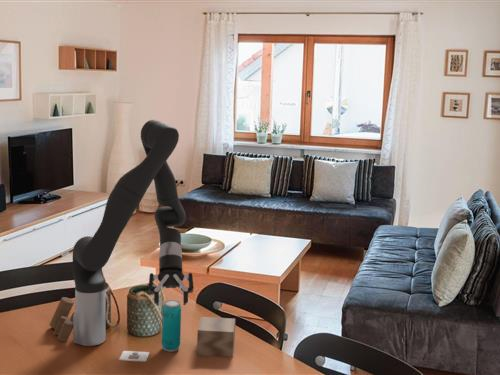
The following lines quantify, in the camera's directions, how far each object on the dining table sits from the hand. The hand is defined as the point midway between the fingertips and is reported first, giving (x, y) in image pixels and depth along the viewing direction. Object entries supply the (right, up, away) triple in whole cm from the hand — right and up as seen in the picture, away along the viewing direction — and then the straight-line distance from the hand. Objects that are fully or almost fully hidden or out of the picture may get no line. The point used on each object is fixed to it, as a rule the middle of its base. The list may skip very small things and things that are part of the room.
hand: (171, 304), depth 210 cm
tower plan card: (-10, -14, -9) cm, 20 cm away
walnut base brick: (+14, -14, -1) cm, 20 cm away
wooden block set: (-36, -10, +7) cm, 38 cm away
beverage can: (0, -14, -3) cm, 14 cm away
